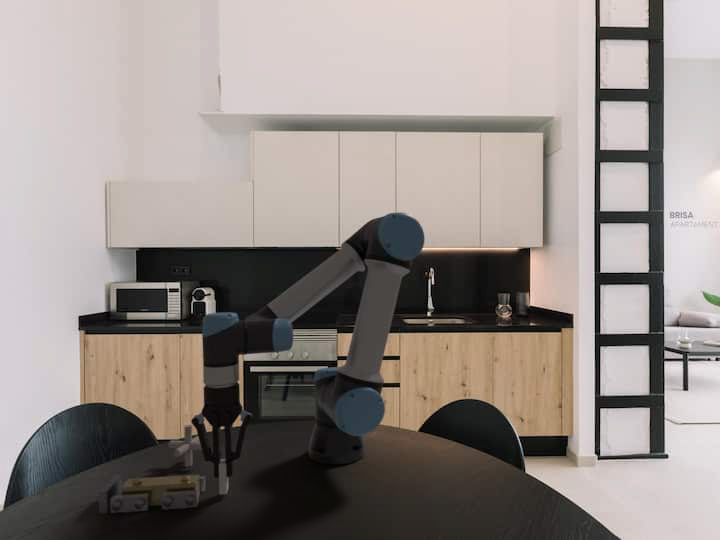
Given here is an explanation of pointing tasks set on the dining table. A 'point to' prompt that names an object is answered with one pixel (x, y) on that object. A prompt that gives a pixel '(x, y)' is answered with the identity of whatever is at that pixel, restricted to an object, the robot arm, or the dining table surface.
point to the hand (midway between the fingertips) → (224, 491)
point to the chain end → (182, 497)
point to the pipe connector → (186, 445)
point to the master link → (160, 486)
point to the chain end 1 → (120, 498)
